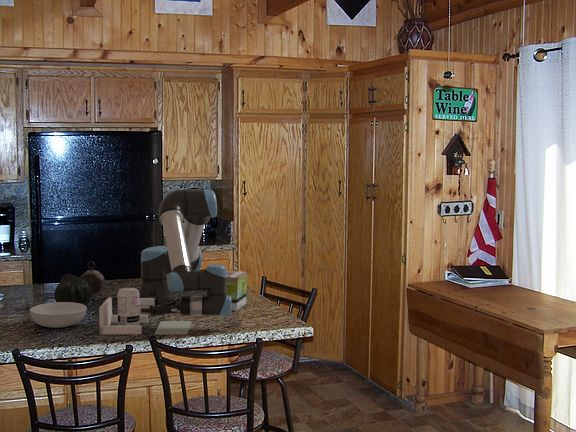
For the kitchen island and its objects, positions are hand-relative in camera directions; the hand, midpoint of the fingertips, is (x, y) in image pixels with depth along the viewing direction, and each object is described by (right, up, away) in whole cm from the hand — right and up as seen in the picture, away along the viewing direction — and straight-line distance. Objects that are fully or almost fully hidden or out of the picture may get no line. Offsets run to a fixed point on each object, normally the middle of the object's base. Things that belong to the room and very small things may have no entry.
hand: (134, 305), depth 269 cm
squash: (-34, -5, +35) cm, 49 cm away
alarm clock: (-32, -3, +55) cm, 64 cm away
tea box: (+34, -6, +39) cm, 51 cm away
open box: (-4, -9, +1) cm, 10 cm away
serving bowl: (-30, -8, +5) cm, 32 cm away
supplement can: (-3, -9, +1) cm, 9 cm away
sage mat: (+14, -9, +2) cm, 17 cm away
